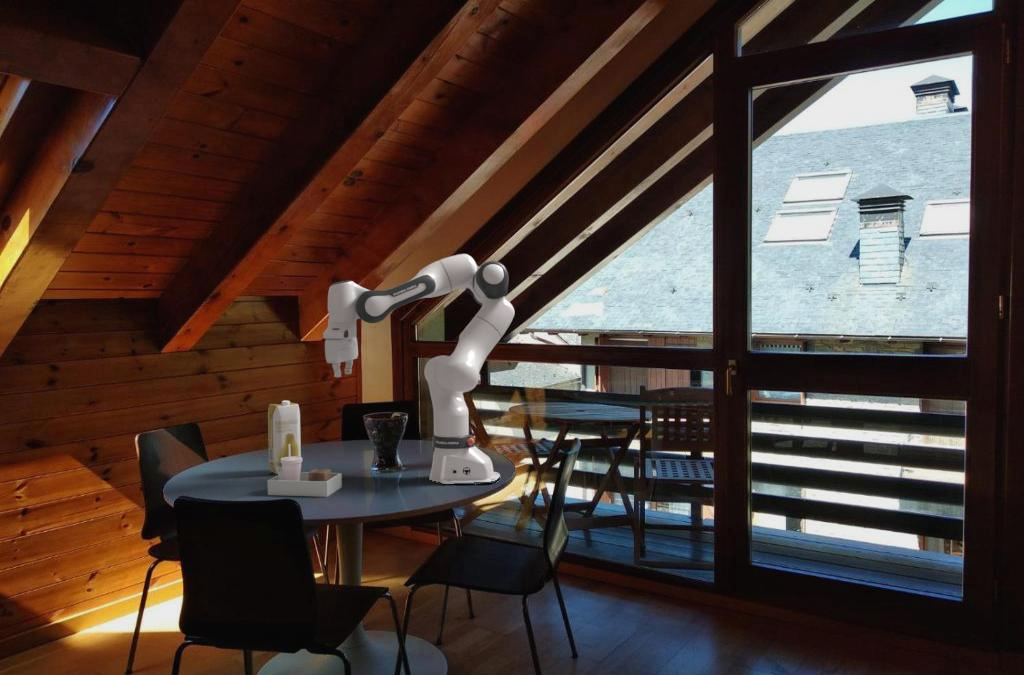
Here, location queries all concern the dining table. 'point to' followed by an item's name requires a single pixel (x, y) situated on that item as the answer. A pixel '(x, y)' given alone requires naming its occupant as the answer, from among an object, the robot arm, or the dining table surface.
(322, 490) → the crate
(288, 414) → the juice carton
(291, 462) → the smoothie
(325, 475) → the walnut block
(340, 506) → the dining table surface
